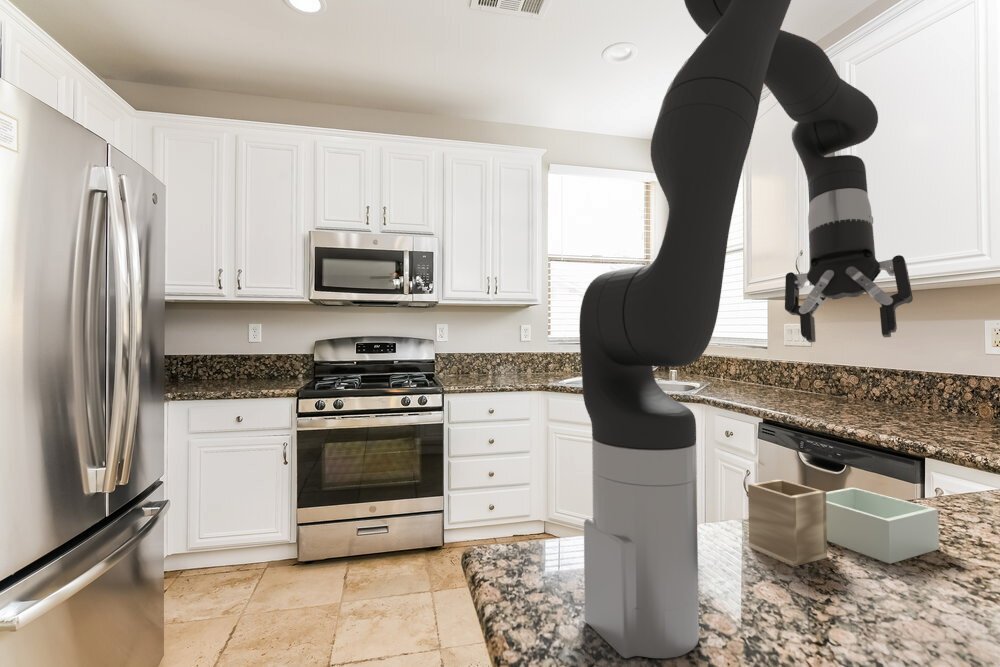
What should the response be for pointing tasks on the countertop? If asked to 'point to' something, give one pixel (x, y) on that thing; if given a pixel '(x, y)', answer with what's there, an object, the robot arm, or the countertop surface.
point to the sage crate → (880, 525)
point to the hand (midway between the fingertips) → (847, 338)
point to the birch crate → (787, 521)
